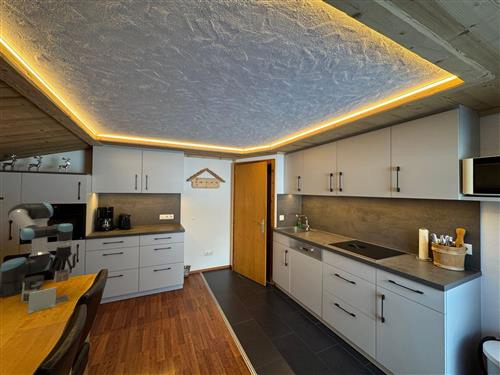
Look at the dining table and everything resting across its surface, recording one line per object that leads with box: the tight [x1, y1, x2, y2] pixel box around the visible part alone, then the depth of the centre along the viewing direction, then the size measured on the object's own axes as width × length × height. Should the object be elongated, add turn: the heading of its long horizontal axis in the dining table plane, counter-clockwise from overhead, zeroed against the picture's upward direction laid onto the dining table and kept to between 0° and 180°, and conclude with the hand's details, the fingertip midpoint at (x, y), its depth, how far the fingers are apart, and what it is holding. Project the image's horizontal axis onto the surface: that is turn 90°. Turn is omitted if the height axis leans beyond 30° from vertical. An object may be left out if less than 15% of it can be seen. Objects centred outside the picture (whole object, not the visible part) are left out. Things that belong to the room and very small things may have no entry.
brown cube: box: [55, 268, 70, 284], centre depth 140 cm, size 6×6×6 cm
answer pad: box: [55, 294, 69, 304], centre depth 139 cm, size 8×8×1 cm
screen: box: [27, 286, 57, 315], centre depth 128 cm, size 5×12×12 cm, turn 138°
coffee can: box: [20, 274, 45, 303], centre depth 139 cm, size 10×10×14 cm
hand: (61, 279), depth 140 cm, fingers closed on brown cube, 6 cm apart
